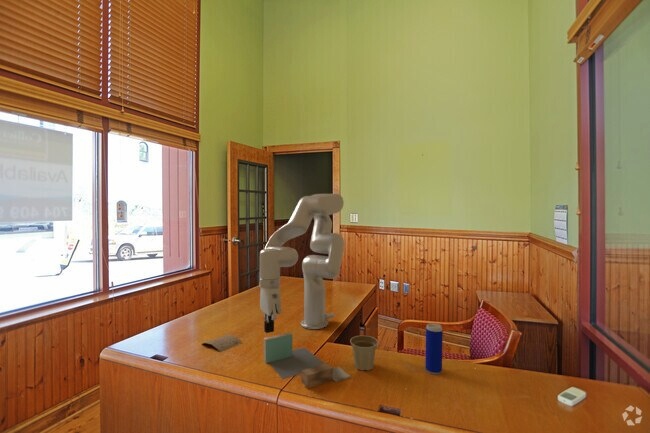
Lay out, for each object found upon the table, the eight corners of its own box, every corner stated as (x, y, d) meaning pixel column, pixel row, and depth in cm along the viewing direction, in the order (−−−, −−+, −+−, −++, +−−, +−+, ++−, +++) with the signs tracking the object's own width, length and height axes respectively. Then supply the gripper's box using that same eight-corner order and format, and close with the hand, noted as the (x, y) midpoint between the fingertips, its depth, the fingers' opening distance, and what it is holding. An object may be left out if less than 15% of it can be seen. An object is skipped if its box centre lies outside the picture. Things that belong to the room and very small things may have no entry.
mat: (304, 348, 119) (304, 347, 119) (326, 366, 105) (326, 365, 105) (264, 358, 110) (264, 357, 110) (282, 380, 97) (282, 379, 97)
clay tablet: (244, 346, 121) (244, 339, 121) (222, 356, 113) (222, 349, 113) (221, 337, 130) (221, 330, 130) (199, 345, 122) (199, 338, 121)
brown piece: (338, 368, 104) (338, 356, 104) (350, 377, 99) (350, 365, 99) (299, 381, 97) (299, 368, 97) (309, 391, 91) (309, 378, 91)
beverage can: (441, 368, 105) (442, 323, 104) (442, 376, 100) (442, 329, 99) (425, 365, 106) (426, 321, 106) (425, 373, 101) (425, 327, 101)
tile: (290, 353, 113) (290, 331, 113) (292, 356, 112) (292, 333, 111) (263, 360, 108) (263, 337, 108) (265, 363, 106) (265, 339, 106)
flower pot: (346, 370, 103) (346, 344, 103) (353, 357, 112) (354, 333, 111) (374, 376, 100) (375, 349, 99) (380, 362, 108) (380, 337, 108)
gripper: (287, 285, 111) (286, 336, 112) (271, 277, 124) (271, 323, 125) (267, 288, 107) (266, 341, 108) (253, 279, 120) (252, 326, 121)
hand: (269, 331), depth 116 cm, fingers closed
